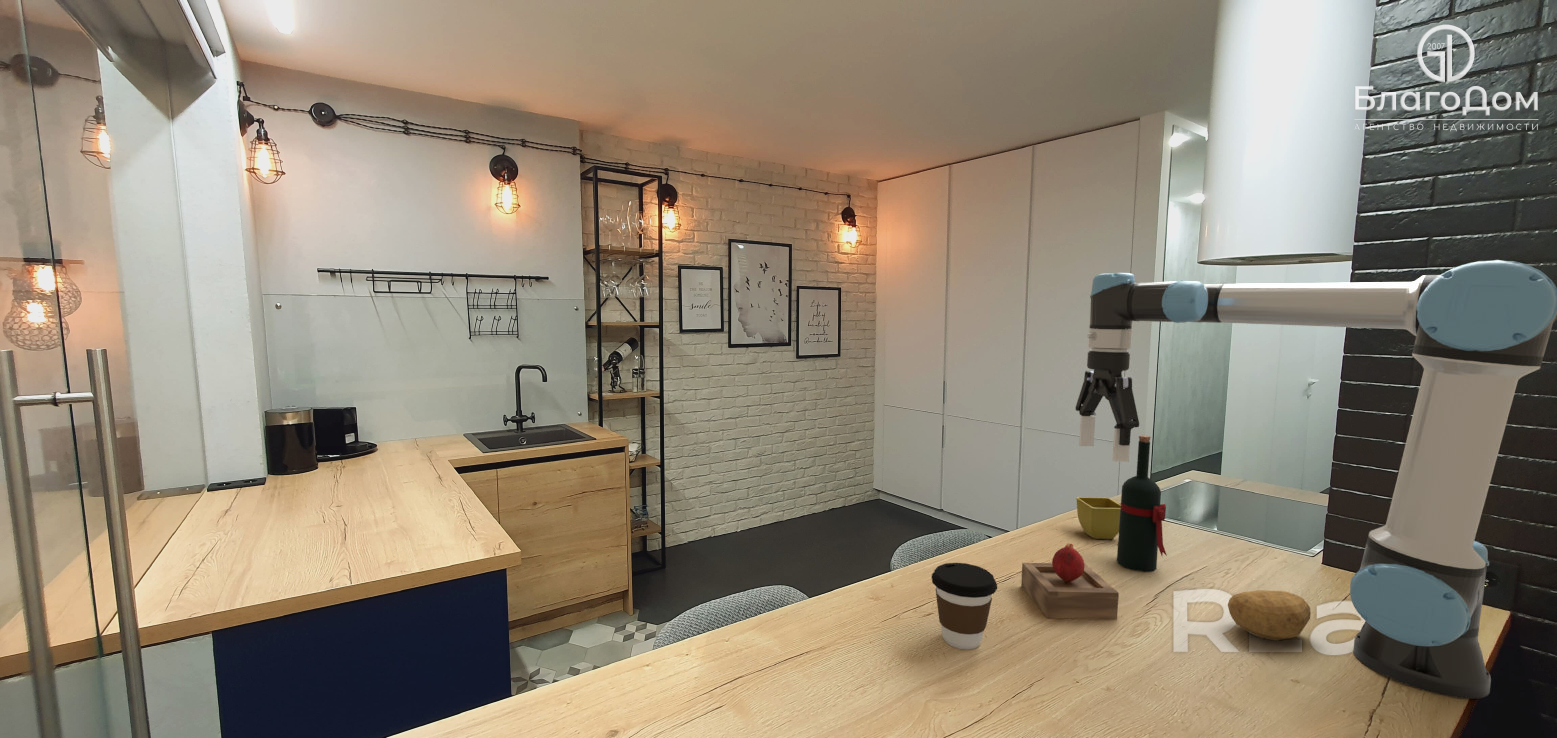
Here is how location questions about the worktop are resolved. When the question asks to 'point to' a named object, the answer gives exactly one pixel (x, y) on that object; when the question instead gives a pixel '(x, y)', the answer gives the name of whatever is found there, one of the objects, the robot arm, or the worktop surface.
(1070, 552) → the pomegranate
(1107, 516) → the flower pot
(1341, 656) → the worktop surface
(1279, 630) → the potato
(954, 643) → the coffee cup
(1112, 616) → the walnut tray
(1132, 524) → the wine bottle
